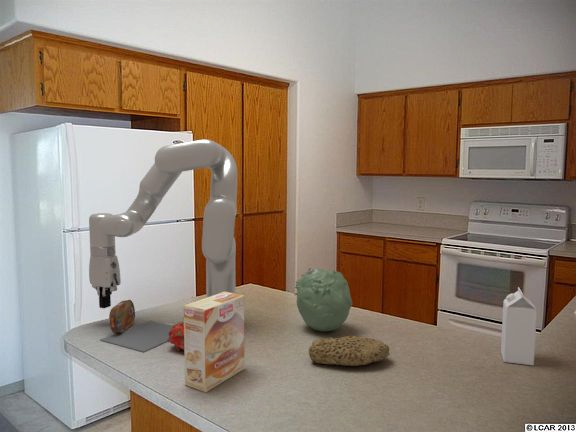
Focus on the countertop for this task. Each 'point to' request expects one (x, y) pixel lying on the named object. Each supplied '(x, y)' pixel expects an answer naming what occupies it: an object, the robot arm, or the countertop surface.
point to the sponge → (348, 351)
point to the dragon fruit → (177, 335)
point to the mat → (141, 336)
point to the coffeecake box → (213, 340)
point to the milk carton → (518, 329)
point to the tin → (122, 316)
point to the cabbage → (323, 299)
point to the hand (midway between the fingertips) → (105, 306)
